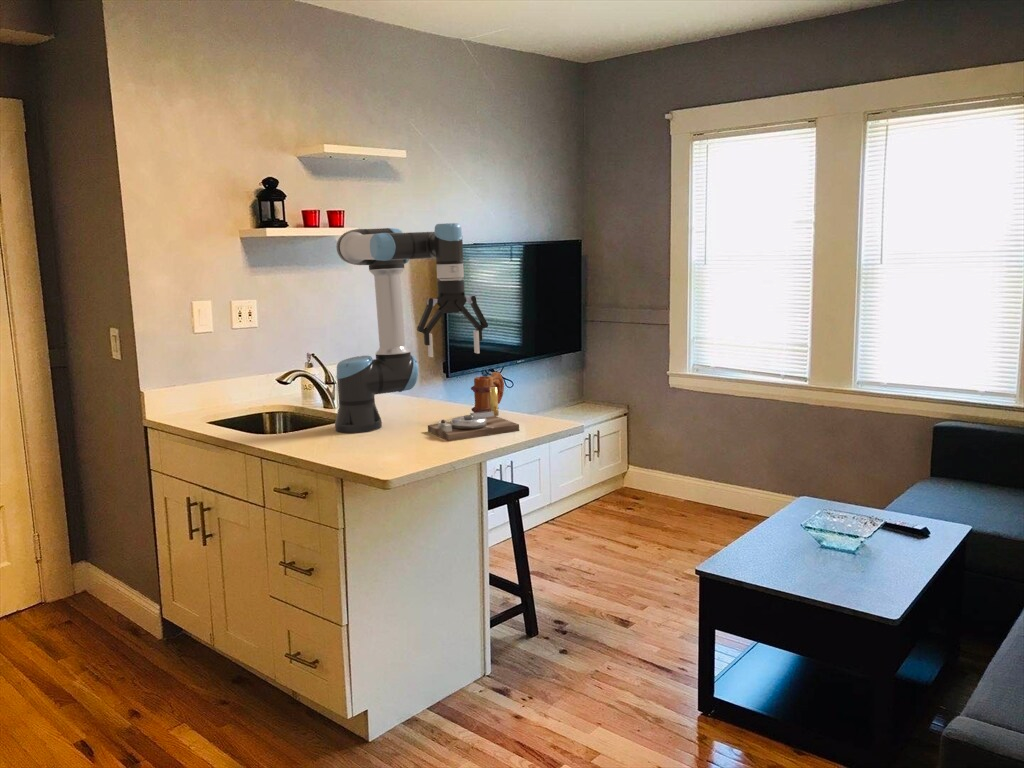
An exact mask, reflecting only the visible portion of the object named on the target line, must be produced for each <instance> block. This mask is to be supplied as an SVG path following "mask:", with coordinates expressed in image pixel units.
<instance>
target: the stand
mask: <svg viewBox="0 0 1024 768" xmlns="http://www.w3.org/2000/svg"><path fill="white" fill-rule="evenodd" d="M486 420H487V425H486V426H484V427H481V428H475V429H457V428H453V427H452V423H451V421H449V422H446V420H445V419H442V420H441V421H438V422H437V423H434V424H433V423H432V424H427V432H428V433H430V432H431V434H433V435H435V436H438V437H440V438H442V439H444V440H446V441H447V442H453V441H459V440H460V441H461V440H466V439H472V438H480V437H486V436H492V435H499V434H505V433H506V434H507V433H513V432H514V433H515V432H519V431H520V424H519V423H516V422H514V421H510V420H507V419H506V418H502V417H500V416H492V417H486Z"/></svg>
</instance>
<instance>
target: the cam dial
mask: <svg viewBox="0 0 1024 768" xmlns="http://www.w3.org/2000/svg"><path fill="white" fill-rule="evenodd" d="M490 407H491V410H489V411H482V412H475V413H474V412H470V413H469V414H466V415H465V414H464V415H460V416H456V417H453V418H452V419H451V421H450V422H451V423H452V427H453V428H457V429H475V428H481V427H484V426H486V425H487V420H486V417H492V416H497V417H500V416H499V415H500V413H499V412H500V411H499V409H498V408H499V404H498V394H497V387H490Z"/></svg>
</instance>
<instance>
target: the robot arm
mask: <svg viewBox="0 0 1024 768" xmlns="http://www.w3.org/2000/svg"><path fill="white" fill-rule="evenodd" d="M463 247H464V245H463V232H462V225H461V224H460V223H454V222H453V223H449V222H448V223H447V222H446V223H437V224H435V226H434V231H426V232H425V231H422V232H421V231H416V232H412V231H411V232H404V231H403V230H401V229H399V228H390V227H386V228H385V227H384V228H355V229H351V230H348V231H345V232H344V233H343V234H341V235H340V236H339V238H338V239H337V241H336V252H337V255H338V257H339V258H340V259H341V260H342V261H344V262H345V263H348V264H350V265H354V266H368V272H369V273H371V274H372V275H373V278H374V289H375V293H374V294H375V301H376V302H375V304H376V318H377V331H378V341H379V342H378V343H379V344H378V345H379V348H378V350H376V352H375V359H373V357H372V356H371V355H360V356H353V357H349V358H346V359H343V360H341V361H339V362H338V363H337V365H336V375H335V377H336V381H337V394H338V395H337V397H338V411H337V413H336V417H335V422H334V427H335V428H334V429H335V431H336V432H337V433H338V432H339V433H344V434H345V433H348V434H352V433H353V434H355V433H364V432H365V433H366V432H372V431H375V430H378V429H380V428H382V426H383V425H382V423H383V422H382V419H381V416H380V414H379V411H378V408H377V406H376V402H375V401H376V400H375V396H376V395H382V394H389V393H390V394H392V393H402V392H405V391H410V390H412V389H414V387H415V385H416V384H417V381H418V377H419V363H418V360H417V358H416V357H415V356H414V355H412V354H411V349H409V348H408V347H407V345H406V336H405V322H404V309H403V308H404V306H403V294H402V293H403V292H402V279H401V275H402V273H403V272H404V271H405V265H406V264H408V263H409V261H410V260H423V259H424V260H426V259H427V260H429V259H432V260H433V259H436V260H435V261H436V262H435V265H436V279H438V280H437V282H436V283H437V298H431V297H428V298H427V299H426V306H425V308H424V311H423V313H422V315H421V318H420V320H419V323H418V325H417V328H416V331H417V332H419V333H422V334H423V343H424V345H425V346H427V350H428V351H427V355H428V357H429V358H434V344H433V343H434V342H433V340H434V339H433V334H432V333H430V332H431V331H432V330H433V328H434V327H435V326H436V324H437V323H438V322H439V321H440V319H441V317H443V315H444V314H445V313H446V314H452V313H455V314H457V313H459V312H460V313H461V314H462V315H463V316H464V317H465V318H466V319H467V320H468V321H469V323H470V324H471V325H472V326H473V327H474V328H475V329H473V330H472V331H473V333H472V334H473V350H474V351H473V353H475V354H477V355H478V354H480V353H481V352H480V342H482V341H483V330H484V329H485V328H488V327H489V323H488V322H487V320H486V318H485V316H484V314H483V312H482V311H481V309H480V307H479V304H478V301H477V297H476V295H472V294H471V295H469V296H466V294H465V291H466V290H465V280H464V279H463V278H464V276H465V274H464V273H465V271H464V249H463ZM466 303H468V304H469V305H470V307H471V308H472V311H473V312H474V314H475V316H476V317H477V319H478V320H476V319H475V317H474V316H473V315H472V314H471V313H470V311H468V309H467V308H466V307H465V304H466ZM436 304H437V305H438V306H439V307H438V308H437V310H436V312H435V314H434V315H433V316H432V318H431V319H430V320H429V318H430V315H431V312H432V310H433V308H434V306H436ZM428 320H429V322H428Z"/></svg>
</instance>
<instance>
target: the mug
mask: <svg viewBox="0 0 1024 768" xmlns="http://www.w3.org/2000/svg"><path fill="white" fill-rule="evenodd" d="M490 387H497V394H498V405H499V404H500V403H501V401H502V398H503V395H504V391H505V390H504V389H505V388H504V387H505V383H504V378H503V376H502V375H501V373H500V372H497V371H492V373H491V374H490V375H489V376H488V375H487V376H485V375H483V376H476V377H474V379H473V386H471V387H470V389H471V391H473V394H474V406H473V407H472V408H471V412H472V413H475V412H482V411H489V410H491V407H490ZM498 410H499V407H498Z"/></svg>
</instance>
